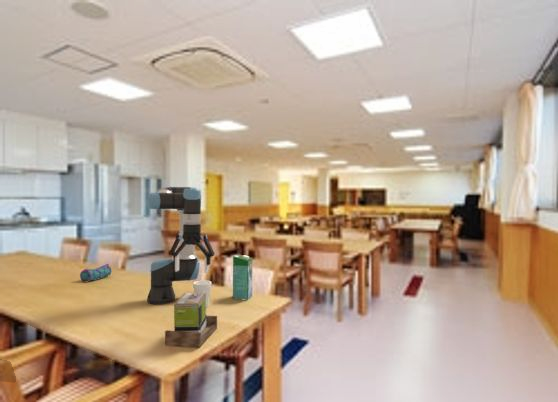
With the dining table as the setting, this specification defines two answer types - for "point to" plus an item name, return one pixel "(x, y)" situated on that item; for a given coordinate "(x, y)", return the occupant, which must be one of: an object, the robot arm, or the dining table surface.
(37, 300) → the dining table surface
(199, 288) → the foam cup
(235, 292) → the milk carton
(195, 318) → the tea box
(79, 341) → the dining table surface
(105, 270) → the pencil case
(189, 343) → the wooden tray
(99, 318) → the dining table surface
